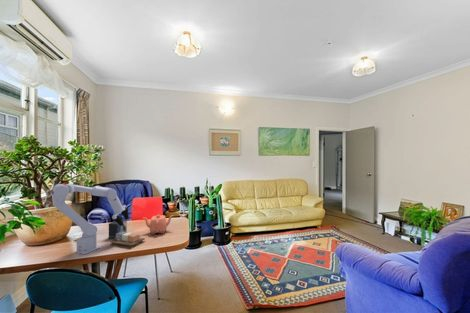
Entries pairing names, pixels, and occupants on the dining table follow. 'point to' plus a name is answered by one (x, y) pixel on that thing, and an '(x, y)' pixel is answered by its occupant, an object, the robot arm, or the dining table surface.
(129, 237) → the button terracotta
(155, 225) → the teapot
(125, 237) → the button cream
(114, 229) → the small box
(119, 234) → the button slate
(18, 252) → the dining table surface
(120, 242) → the brown tray
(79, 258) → the dining table surface
